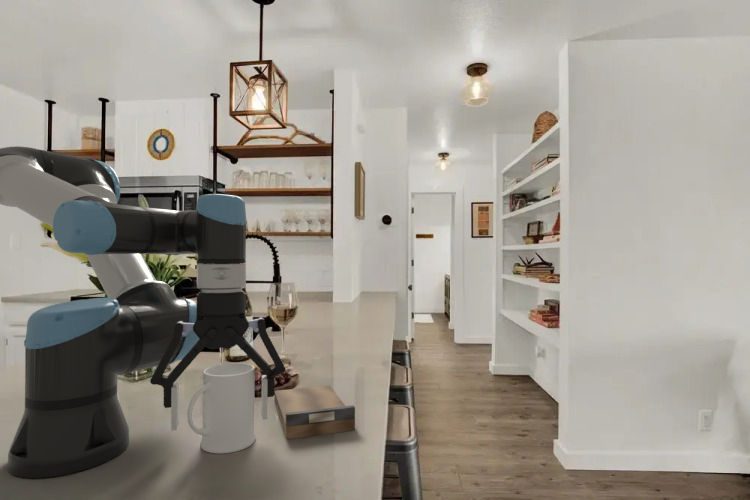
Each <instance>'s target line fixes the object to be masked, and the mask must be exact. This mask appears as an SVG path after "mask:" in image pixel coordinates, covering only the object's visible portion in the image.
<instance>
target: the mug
mask: <svg viewBox="0 0 750 500" xmlns="http://www.w3.org/2000/svg"><path fill="white" fill-rule="evenodd" d="M255 371H256V370H255V366H254V365H252V364H248V363H241V362H239V363H238V362H236V363H235V362H233V363H232V362H231V363H222V364H215V365H213V366H209V367H208V368H205V369H204V370H203V371H202V372H203V373H202V374H203V375H202V385H201V386H200V387H199V388H198V389H197V390H196V391H195V393H194V394H193V396H192V397H191V398H190V401H189V404H188V408H187V413H186V415H187V422H188V426H189V428H190V429H191V430H192V431H193V432H194V433H195V434H197V435H200V436H201V440H200V448H201V449H202V450H203V451H204V452H208V453H210V454H211V453H212V454H230V453H231V454H232V453H235V452H239V451H242V450H245V449H247V448H249V447H250V446H251V445H253V444H254V442H255V441H256V434H255V384H256V383H255V378H256V377H255V376H256V375H255V373H256V372H255ZM200 395H202V428H201V427H197V426H196V425H195V423H194V421H193V409H194V406H195V403H196V401H197V400H198V399H199V397H200Z"/></svg>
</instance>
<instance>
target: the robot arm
mask: <svg viewBox="0 0 750 500" xmlns="http://www.w3.org/2000/svg"><path fill="white" fill-rule="evenodd" d="M119 184H120V180H119V177H118V175H117V173H116V171H115V170H114V169H113V168H112V167H111V166H110V165H109V164H107V163H106V162H104V161H100V160H96V159H94V158H92V157H86V156H85V157H84V156H83V157H81V156H75V155H70V154H65V153H60V152H56V151H55V152H54V151H50V150H45V149H38V148H34V147H28V146H18V145H17V146H7V147H1V148H0V205H2V206H5V207H10V208H18V209H19V210H21V211H23V212H25V213H27V214H28V215H29V216H32V217H33V218H35V219H37V220H38V221H40V222H42V223H43V224H45V225H47V226H49V227H50V228H52V234H53V238H54V239H55V241H56V242H57V246H58V247H59V248H60V249H61V250H62V251H64V252H66V253H71V254H72V253H73V254H85V257H86V258H87V260H88V261H89V264H90V266H91V267H92V269H93V271H94V273H95V275H96V277H97V279H98V281H99V283H100V285H101V286H102V289H103V291H104V293H105V294H106V296H107V297H93V298H87V299H84V298H83V299H76V300H70V301H65V302H60V303H55V304H51V305H48V306H44V307H42V308H39V309H37V310H36V311H34V312H32V314H31V315H30V316H29V317H28V320H27V324H26V334H25V339H24V340H23V346H24V348H25V352H24V353H25V360H24V362H25V367H24V369H25V375H24V412H23V415H22V418H21V420H20V423H19V424H18V427H17V430H16V433H15V434H14V438H13V440H12V442H11V445H10V448H9V450H8V454H7V470H8V472H9V473H10V474H11V475H14V476H16V477H20V478H29V479H40V478H41V479H43V478H51V477H58V476H59V477H60V476H64V475H69V474H74V473H78V472H81V471H84V470H88V469H91V468H93V467H97V466H99V465H100V464H103V463H106V462H109V461H110V460H111V459H113V458H116V457H117V456H119V455H120V454H121V453H123V452H124V451H125V450H126V449H127V447H128V446H129V444H130V429H129V425H128V422H127V419H126V417H125V413H124V411H123V409H122V408H123V407H122V406H121V403H120V401H119V397H118V376H122V375H125V374H129V373H130V374H131V373H134V372H139V371H144V370H146V369H147V370H148V369H152V368H155V367H156V368H155V371H154V372H153V375H152V376H151V377H150V380H149V381H150V384H151V385H154V386H155V385H157V386H161V387H162V388H163V406H164V408H165V409H168V408H169V409H170V412H171V413H170V414H171V417H170V423H171V424H170V430H171V431H172V432H173V431H177V429H178V426H179V423H180V422H179V419H180V418H179V417H180V416H179V415H180V413H179V409H180V407H179V406H180V405H179V403H180V401H179V400H180V398H179V396H180V395H179V393H180V383H179V382H176V381H177V379H179V377H180V376H181V375H182V374H183V373H184V371H186V369H187V368H188V367H189V365H191V364H192V362H193V361H194V360H195V359H196V358H197V356H199V354H200V353H201V352H202V351H203V350H204V349H205V348H207V349H210V350H218V349H232V348H234V347H236V345H237V346H238V348H239V349H240V350H241V351H243V352H244V354H246V355H247V357H248V358H249V359H250V360H251V361H252V362H253V363H254V364H255V365H256V366H257V368H258V369H260V370H261V371H262V373H263V375H262V374H261V410H260V411H261V412H260V413H261V418H262V420H268V398H270V397H271V398H273V397H274V396H275V377H277V376H278V375H280V374H284V373H285V372H286V367H285V365H284V363H283V361H282V358H280V357H281V356H280V355H279V354H278V351H277V350H276V347H275V346H274V344H273V342H272V340H271V338H270V336H269V334H268V332H267V325H266V321H265V319H264V317H258V318H255V319H252V320H251V319H250V320H248V319H247V316H246V315H247V314H246V313H247V311H246V309H247V306H246V304H247V303H246V302H247V299H246V298H247V297H246V294H247V292H245V291H243V289H244V288H245V287H246V286H247V285H246V284H247V279H246V278H247V277H246V275H247V274H246V273H247V267H246V266H247V265H246V263H247V260H246V257H247V255H246V254H247V253H246V251H247V249H246V248H247V247H246V246H247V245H246V244H247V243H246V242H247V241H246V240H247V225H248V221H247V213H246V203H245V201H244V199H243V198H242V197H240V196H238V195H234V194H233V195H231V194H223V193H210V194H209V193H208V194H207V193H206V194H202V195H200V196H199V197H198V198H197V200H196V201H197V202H196V207H195V209H193V210H192V209H191V210H174V209H165V208H164V209H163V208H155V207H145V206H144V207H143V206H133V205H127V204H126V205H125V204H119V203H118V202H119V200H120V197H121V187H119ZM142 254H143V255H167V256H179V255H196V288H197V289H199V292H198V293H197V294H196V302H195V301H194V300H193V299H190V298H186V297H181V298H178V297H177V295H176V294H175V292H174V291H173V289H172V288H171V287H172V286H170V285H169V284H168V283H166V282H164V281H160V280H157V279H156V277H155V275H154V274H153V273H152V270H151V269H150V267H149V265H148V263H147V262H146V261H145V259H144V257H143V255H142ZM249 328H251V329H252V330H253V332H254V333H258V335H259V337H260V339H261V341H262V343H263V345H264V347H265V348H266V350H267V352H268V354H269V356H270V358H271V360H272V362H273V364H274V365H273V366H271V365H270V364H269V363H268V362H267V361H266V359H264V358H263V357H262V356H261V355H260V353H258V351H257V350H256V349H255V348H254V347H253V346H252V345H251V344H250V343H249V341H248V340H247V339H246V338H245V337H244V335H245V333H246V332H247V330H249ZM178 361H179V363H178V364H177V365H176V366H175V367H174V368H173V370H171V372H170V373H169V374H168V375H164V373H165V371H166V369H167V368H168V365H172V364H174V363H175V362H178Z"/></svg>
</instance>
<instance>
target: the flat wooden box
mask: <svg viewBox="0 0 750 500" xmlns="http://www.w3.org/2000/svg"><path fill="white" fill-rule="evenodd" d="M274 403H275V406H276V410H277V413H278V416H279V419H280V423H281V426H282V429H283V433H284V436H285V440H289V439H298V438H304V437H313V436H314V437H315V436H321V435H327V434H335V433H344V432H350V431H356V406H355V405H345V403H344V402H343V401H342V399H341V398H340V397H339V395H338V394H337V393H336V391H334V389H333V387H332V386H331V385H321V386H311V387H310V386H309V387H301V388H292V389H291V388H290V389H278V390H274Z"/></svg>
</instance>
